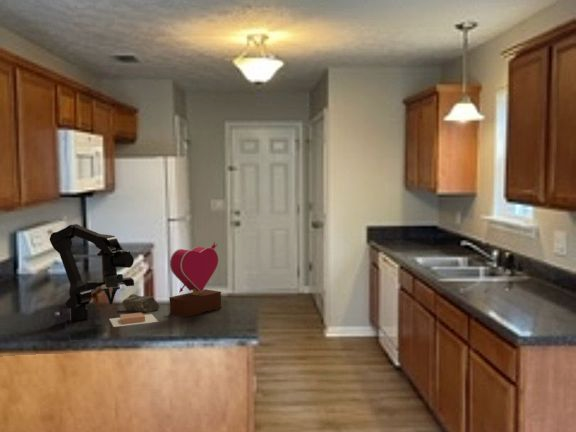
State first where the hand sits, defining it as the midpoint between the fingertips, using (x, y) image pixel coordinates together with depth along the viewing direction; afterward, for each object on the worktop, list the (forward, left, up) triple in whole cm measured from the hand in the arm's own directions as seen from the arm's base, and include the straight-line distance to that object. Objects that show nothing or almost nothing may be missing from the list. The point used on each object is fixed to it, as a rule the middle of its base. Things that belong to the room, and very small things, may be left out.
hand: (110, 304), depth 250 cm
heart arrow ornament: (+39, +6, -9) cm, 40 cm away
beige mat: (+9, 0, -8) cm, 12 cm away
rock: (+15, +18, -9) cm, 25 cm away
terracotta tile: (+4, 0, -7) cm, 8 cm away
